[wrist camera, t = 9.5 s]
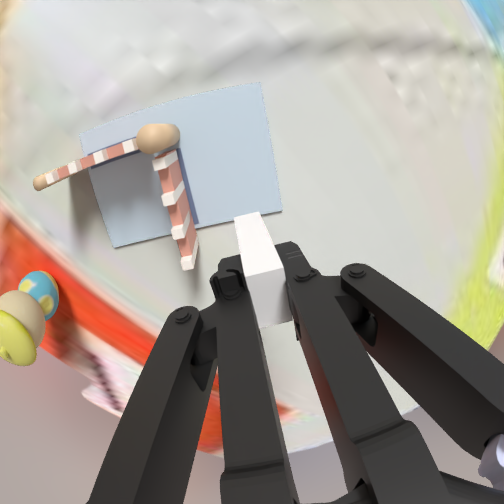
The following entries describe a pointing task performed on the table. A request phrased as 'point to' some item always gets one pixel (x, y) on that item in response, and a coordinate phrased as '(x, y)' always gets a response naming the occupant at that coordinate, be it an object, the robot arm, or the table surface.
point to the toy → (26, 317)
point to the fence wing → (177, 206)
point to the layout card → (188, 164)
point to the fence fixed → (116, 152)
